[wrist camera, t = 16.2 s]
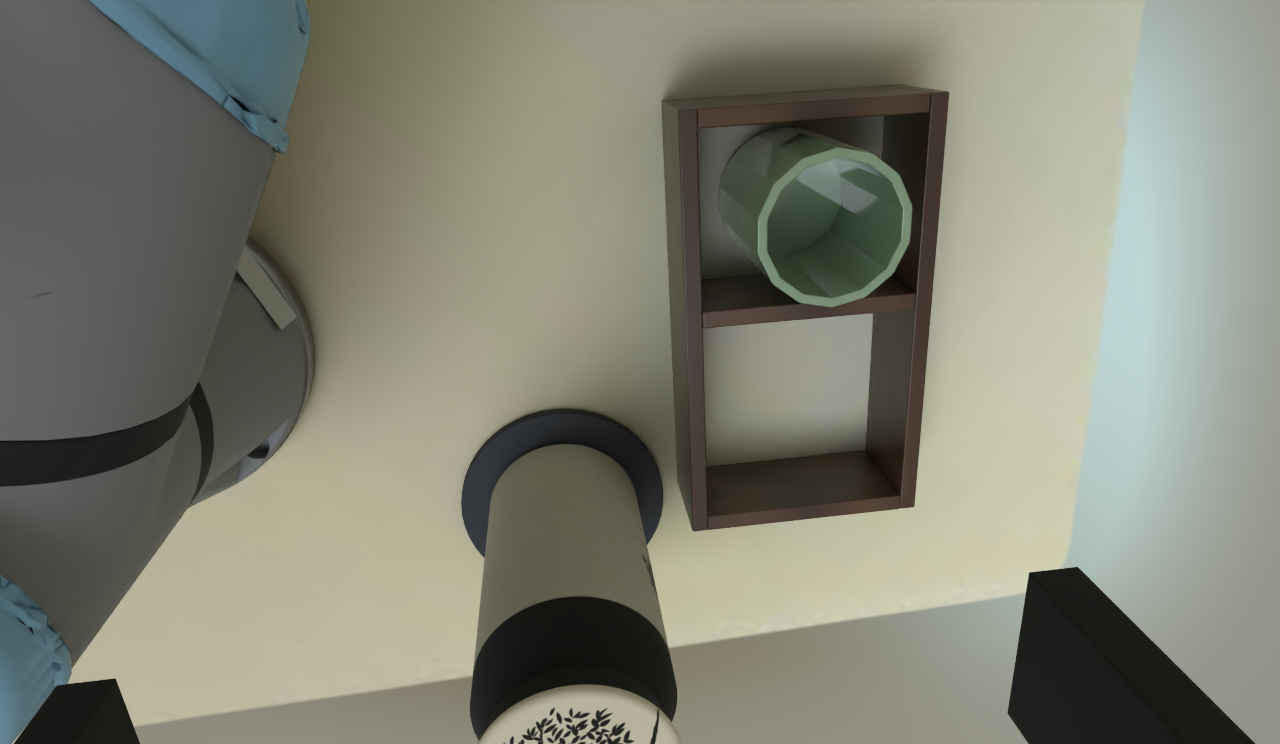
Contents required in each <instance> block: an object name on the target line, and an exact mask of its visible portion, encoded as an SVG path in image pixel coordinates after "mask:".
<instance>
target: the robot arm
mask: <svg viewBox="0 0 1280 744" xmlns="http://www.w3.org/2000/svg"><path fill="white" fill-rule="evenodd" d="M310 29H311V25H310V15H309V10H308V7H307V4H306V1H305V0H0V744H12V742H13V741H14V740H15V739H16V738H17V737H18V735H19V734H20V733H21V732H22V731H23V729H24V728H25V727H26V728H25V729H24V731H23V732H22V733H21V735H20V736H19V737H18V739H17V740H16V741H15V743H14V744H140V743H139V740H138V737H137V735H136V732H135V729H134V727H133V724H132V721H131V719H130V716H129V713H128V711H127V708H126V705H125V703H124V700H123V697H122V695H121V692H120V689H119V687H118V684H117V681H116V679H108V680H99V681H91V682H82V683H73V684H67V683H68V681H69V679H70V676H71V669H72V667H73V666H74V665H75V663H76V662H77V660H78V659H79V658H80V656H81V655H82V654H83V652H84V651H85V649H86V648H87V647H88V645H89V644H90V643H91V641H92V640H93V638H94V637H95V636H96V634H97V633H98V632H99V630H100V629H101V627H102V626H103V625H104V623H105V622H106V620H107V619H108V618H109V616H110V615H111V614H112V612H113V611H114V609H115V608H116V607H117V605H118V604H119V603H120V601H121V600H122V598H123V597H124V596H125V594H126V593H127V592H128V590H129V589H130V587H131V586H132V585H133V583H134V582H135V580H136V579H137V578H138V576H139V575H140V574H141V572H142V571H143V569H144V568H145V567H146V565H147V564H148V563H149V561H150V560H151V558H152V557H153V556H154V554H155V553H156V551H157V550H158V549H159V547H160V546H161V545H162V543H163V542H164V540H165V539H166V538H167V536H168V535H169V534H170V532H171V531H172V529H173V528H174V527H175V525H176V524H177V523H178V521H179V520H180V518H181V517H182V515H183V514H184V512H185V511H186V510H187V508H189V507H191V506H193V505H195V504H197V503H199V502H201V501H203V500H205V499H207V498H209V497H211V496H213V495H215V494H217V493H219V492H221V491H224V490H226V489H228V488H230V487H231V486H233V485H235V484H237V483H239V482H240V481H242V480H243V479H245V478H247V477H248V476H249V475H251V474H252V473H253V472H255V471H256V470H257V469H258V468H259V467H261V466H262V465H263V464H264V463H265V462H266V461H267V460H269V459H270V458H271V457H272V456H273V455H274V454H275V453H276V451H277V450H278V449H279V448H280V447H281V446H282V444H283V443H284V442H285V440H286V439H287V437H288V436H289V434H290V433H291V431H292V430H293V428H294V426H295V425H296V423H297V421H298V419H299V418H300V416H301V414H302V412H303V410H304V407H305V405H306V403H307V400H308V396H309V393H310V390H311V385H312V379H313V369H314V352H313V343H312V337H311V331H310V328H309V324H308V320H307V317H306V314H305V312H304V309H303V307H302V304H301V302H300V300H299V298H298V296H297V294H296V292H295V290H294V288H293V287H292V285H291V284H290V282H289V280H288V279H287V277H286V276H285V274H284V273H283V272H282V270H281V269H280V268H279V266H278V265H277V264H276V262H275V261H274V260H273V259H272V258H271V257H270V256H269V255H268V254H267V253H266V251H265V250H264V249H263V248H262V247H260V246H259V245H258V244H257V243H256V242H255V241H254V240H253V239H252V238H251V237H249V236H248V235H249V232H250V229H251V226H252V223H253V220H254V217H255V214H256V211H257V208H258V205H259V202H260V199H261V197H262V194H263V191H264V188H265V185H266V182H267V179H268V176H269V173H270V170H271V167H272V164H273V161H274V158H275V155H276V152H278V153H285V152H286V150H287V147H288V144H289V136H288V134H287V132H286V130H285V126H286V123H287V119H288V116H289V112H290V109H291V106H292V102H293V99H294V95H295V92H296V88H297V85H298V81H299V78H300V74H301V71H302V67H303V64H304V60H305V57H306V53H307V50H308V46H309V41H310ZM1008 714H1009V716H1010V717H1011V719H1012V720H1013V721H1014V723H1015V724H1016V726H1017V728H1018V729H1019V730H1020V732H1021V733H1022V735H1023V736H1024V738H1025V739H1026V741H1027V742H1028V743H1029V744H1255V743H1254V742H1253V741H1252V740H1251V739H1250V738H1249V737H1248V736H1247V735H1246V734H1245V733H1244V732H1243V731H1242V730H1241V729H1240V728H1239V727H1238V726H1237V725H1236V724H1235V723H1234V722H1233V721H1232V720H1231V719H1230V718H1229V717H1228V716H1227V715H1226V714H1225V713H1224V712H1223V711H1222V710H1221V709H1220V708H1219V707H1218V706H1217V705H1216V704H1215V703H1214V702H1213V701H1212V700H1211V699H1210V698H1209V697H1207V695H1206V694H1205V693H1204V692H1203V691H1202V690H1201V689H1200V688H1199V687H1198V686H1196V684H1195V683H1194V682H1193V681H1192V680H1190V678H1189V677H1188V676H1187V675H1186V674H1185V673H1183V671H1182V670H1181V669H1180V668H1179V667H1178V666H1177V665H1175V663H1174V662H1173V661H1172V660H1170V658H1169V657H1168V656H1167V655H1166V654H1164V653H1163V651H1161V649H1160V648H1159V647H1157V645H1155V644H1154V643H1153V642H1152V641H1151V640H1150V639H1149V638H1148V637H1147V636H1146V635H1145V634H1144V633H1143V632H1142V631H1141V630H1140V629H1139V628H1138V627H1137V626H1136V625H1135V624H1134V623H1133V622H1132V621H1131V620H1130V619H1129V618H1128V617H1127V616H1126V615H1125V614H1124V613H1123V612H1122V611H1121V610H1120V609H1119V608H1118V607H1117V606H1116V605H1115V604H1114V603H1113V602H1112V601H1111V600H1110V599H1109V598H1108V597H1107V596H1106V595H1105V594H1104V593H1103V592H1102V591H1101V590H1100V589H1099V588H1098V587H1097V586H1096V585H1095V584H1094V583H1093V582H1092V581H1091V580H1090V579H1089V578H1088V577H1087V576H1086V575H1085V574H1084V573H1083V572H1082V571H1081V570H1080V569H1079V568H1078V567H1074V568H1065V569H1057V570H1048V571H1039V572H1031V573H1029V578H1028V584H1027V591H1026V597H1025V604H1024V610H1023V617H1022V623H1021V630H1020V636H1019V643H1018V649H1017V656H1016V662H1015V668H1014V675H1013V681H1012V688H1011V695H1010V701H1009V708H1008ZM28 723H29V724H28Z"/></svg>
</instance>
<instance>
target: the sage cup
mask: <svg viewBox="0 0 1280 744" xmlns="http://www.w3.org/2000/svg"><path fill="white" fill-rule="evenodd" d="M718 201H719V210H720V215H721V218H722V221H723V224H724V226H725V228H726V230H727V231H728V233H729V234H730V236H731V237H732V239H733V241H734V243H735V244H736V245H737V246H738V247H739V248H740V249H741V250H742V251H743V252H744V253H745V255H746V256H747V257H748V258H749V259H750V260H751V261H752V262H753V263H754V264H755V265H756V266H757V268H758V269H759V270H760V271H761V272H762V273H763V274H764V275H765V276H766V277H767V278H768V279H769V280H770V282H771V283H772V284H773V285H775V286H776V287H777V288H779V289H780V290H782V291H783V292H784V293H786V294H787V295H789V296H790V297H792V298H793V299H794V300H796V301H797V302H800V303H804V304H811V305H819V306H826V307H835V306H838V305H841V304H845V303H848V302H851V301H854V300H857V299H861V298H864V297H866V296H867V295H868V294H870V293H871V292H872V291H873V290H874V289H876V288H877V287H878V286H879V285H880V284H882V283H883V282H884V281H885V280H886V279H888V278H889V277H890V276H891V275H892V273H894V271H895V269H896V267H897V265H898V264H899V262H900V260H901V258H902V256H903V254H904V252H905V250H906V248H907V246H908V244H909V241H910V234H911V220H912V204H911V201H910V199H909V197H908V194H907V192H906V189H905V187H904V184H903V182H902V179H901V177H900V175H899V174H898V173H897V172H896V171H894V170H893V169H892V168H891V167H890V166H888V165H887V164H886V163H885V162H883V161H882V160H881V159H880V158H878V157H877V156H876V155H875V154H873V153H871V152H868V151H865V150H862V149H860V148H857V147H854V146H852V145H849V144H846V143H843V142H841V141H838V140H835V139H832V138H830V137H827V136H824V135H822V134H819V133H816V132H812V131H806V130H802V129H798V128H788V127H787V128H777V129H772V130H769V131H766V132H763V133H761V134H759V135H757V136H755V137H753V138H752V139H750V140H749V141H747V142H746V143H745V144H744V145H742V146H741V147H740V148H739V149H738V150H737V152H736V153H735V154H734V155H733V157H732V158H731V159H730V161H729V163H728V164H727V166H726V168H725V171H724V173H723V176H722V179H721V182H720V187H719V198H718Z"/></svg>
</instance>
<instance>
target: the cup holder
mask: <svg viewBox="0 0 1280 744" xmlns="http://www.w3.org/2000/svg"><path fill="white" fill-rule="evenodd" d="M948 100H949V92H947V91H940V90H934V89H927V88H920V87H914V86H907V85H889V86H874V87H859V88H844V89H829V90H814V91H799V92H784V93H769V94H754V95H739V96H724V97H709V98H693V99H680V100H663V101H662V125H663V148H664V172H665V196H666V220H667V243H668V267H669V291H670V315H671V338H672V362H673V386H674V410H675V433H676V457H677V481H678V485H679V488H680V492H681V495H682V498H683V501H684V504H685V508H686V511H687V514H688V517H689V521H690V524H691V527H692V530H693V531H701V530H708V529H709V530H711V529H720V528H730V527H739V526H748V525H757V524H766V523H775V522H784V521H793V520H802V519H811V518H820V517H829V516H838V515H847V514H856V513H865V512H874V511H883V510H892V509H899V508H909V507H914V503H915V492H916V480H917V468H918V456H919V444H920V432H921V420H922V409H923V397H924V385H925V373H926V361H927V349H928V337H929V326H930V314H931V302H932V290H933V278H934V266H935V254H936V243H937V231H938V219H939V207H940V195H941V183H942V171H943V160H944V148H945V136H946V124H947V112H948ZM870 116H885V123H884V141H883V158H882V161H883V162H885V163H886V164H887V165H888V166H890V167H891V168H892V169H893V170H894V171H896V172H897V173H898V174H899V175H900V177H901V179H902V182H903V184H904V187H905V189H906V192H907V194H908V197H909V199H910V201H911V204H912V220H911V234H910V241H909V244H908V246H907V248H906V250H905V252H904V254H903V256H902V258H901V260H900V262H899V264H898V265H897V267H896V269H895V271H894V273H892V275H891V276H890V277H889V278H888V279H886V280H885V281H884V282H883V283H882V284H880V285H879V286H878V287H877V288H876V289H874V290H873V291H872V292H871V293H870V294H868V295H867V296H866V297H864V298H861V299H857V300H854V301H851V302H848V303H845V304H841V305H838V306H835V307H826V306H819V305H811V304H804V303H800V302H797V301H796V300H794V299H793V298H792V297H790V296H789V295H787V294H786V293H784V292H783V291H782V290H780V289H779V288H777V287H776V286H775V285H773V284H772V283H771V282H770V280H769V279H768V278H767V277H766V276H765V275H758V276H747V277H735V278H723V279H711V280H701V245H700V208H699V170H698V132H697V128H712V127H727V126H741V125H755V124H770V123H784V122H799V121H813V120H827V119H842V118H856V117H870ZM867 313H874V317H873V335H872V352H871V370H870V388H869V405H868V423H867V441H866V451H858V452H848V453H839V454H829V455H819V456H810V457H800V458H791V459H781V460H771V461H762V462H752V463H742V464H733V465H723V466H714V467H706V433H705V395H704V358H703V328H711V327H722V326H734V325H745V324H756V323H767V322H778V321H789V320H800V319H811V318H823V317H834V316H845V315H856V314H867Z"/></svg>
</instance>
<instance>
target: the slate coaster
mask: <svg viewBox="0 0 1280 744" xmlns="http://www.w3.org/2000/svg"><path fill="white" fill-rule="evenodd" d="M557 444H575V445H582V446H586V447H590V448H593V449H596V450H598V451H600V452H602V453H604V454H606V455H608V456H609V457H611V458H612V459H614V460H615V461H616V462H617V463H618V464H619V465H620V466H621V467H622V468H623V469H624V470H625V472H626V473H627V474H628V476H629V478H630V479H631V481H632V484H633V486H634V489H635V492H636V497H637V502H638V507H639V511H640V516H641V521H642V526H643V530H644V535H645V540H646V544H648V543H649V541H650V540H651V538H652V536H653V534H654V532H655V530H656V528H657V526H658V523H659V520H660V517H661V512H662V506H663V490H662V482H661V478H660V475H659V471H658V468H657V466H656V463H655V461H654V459H653V457H652V455H651V454H650V452H649V451H648V449H647V448H646V446H645V445H644V444H643V443H642V442H641V441H640V439H639V438H638V437H637V436H635V435H634V434H633V433H632V432H631V431H630V430H628V429H627V428H625V427H624V426H622V425H621V424H619V423H617V422H615V421H613V420H611V419H609V418H607V417H604V416H601V415H598V414H595V413H590V412H586V411H580V410H551V411H545V412H539V413H536V414H532V415H529V416H526V417H524V418H521V419H519V420H516V421H514V422H512V423H511V424H509V425H507V426H505V427H504V428H502V429H501V430H500V431H498V432H497V433H496V434H494V435H493V436H492V437H491V438H490V439H489V440H488V441H487V442H486V443H485V444H484V445H483V446H482V447H481V449H480V450H479V451H478V453H477V454H476V455H475V457H474V459H473V461H472V462H471V464H470V466H469V469H468V471H467V474H466V477H465V481H464V485H463V490H462V502H461V505H462V516H463V520H464V524H465V527H466V530H467V532H468V535H469V537H470V539H471V541H472V542H473V544H474V546H475V547H476V548H477V550H478V551H479V552H480V553H481V555H482V556H483V557H484V558H485V551H486V541H487V531H488V521H489V511H490V502H491V496H492V493H493V490H494V488H495V485H496V483H497V481H498V480H499V478H500V477H501V475H502V474H503V472H504V471H505V470H506V469H507V468H508V467H509V466H510V465H511V464H512V463H513V462H515V461H516V460H517V459H519V458H520V457H522V456H523V455H525V454H527V453H529V452H531V451H533V450H536V449H539V448H542V447H545V446H550V445H557Z"/></svg>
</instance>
